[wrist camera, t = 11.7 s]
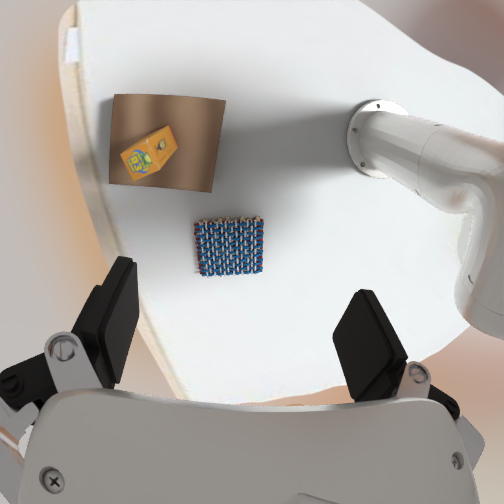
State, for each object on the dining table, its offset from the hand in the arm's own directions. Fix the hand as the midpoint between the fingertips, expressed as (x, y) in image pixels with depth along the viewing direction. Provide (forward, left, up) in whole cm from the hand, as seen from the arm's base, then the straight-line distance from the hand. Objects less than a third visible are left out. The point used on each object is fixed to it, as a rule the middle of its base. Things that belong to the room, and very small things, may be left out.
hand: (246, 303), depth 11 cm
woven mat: (-3, +15, -31) cm, 34 cm away
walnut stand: (+8, -1, -30) cm, 31 cm away
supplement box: (+8, -1, -26) cm, 28 cm away
